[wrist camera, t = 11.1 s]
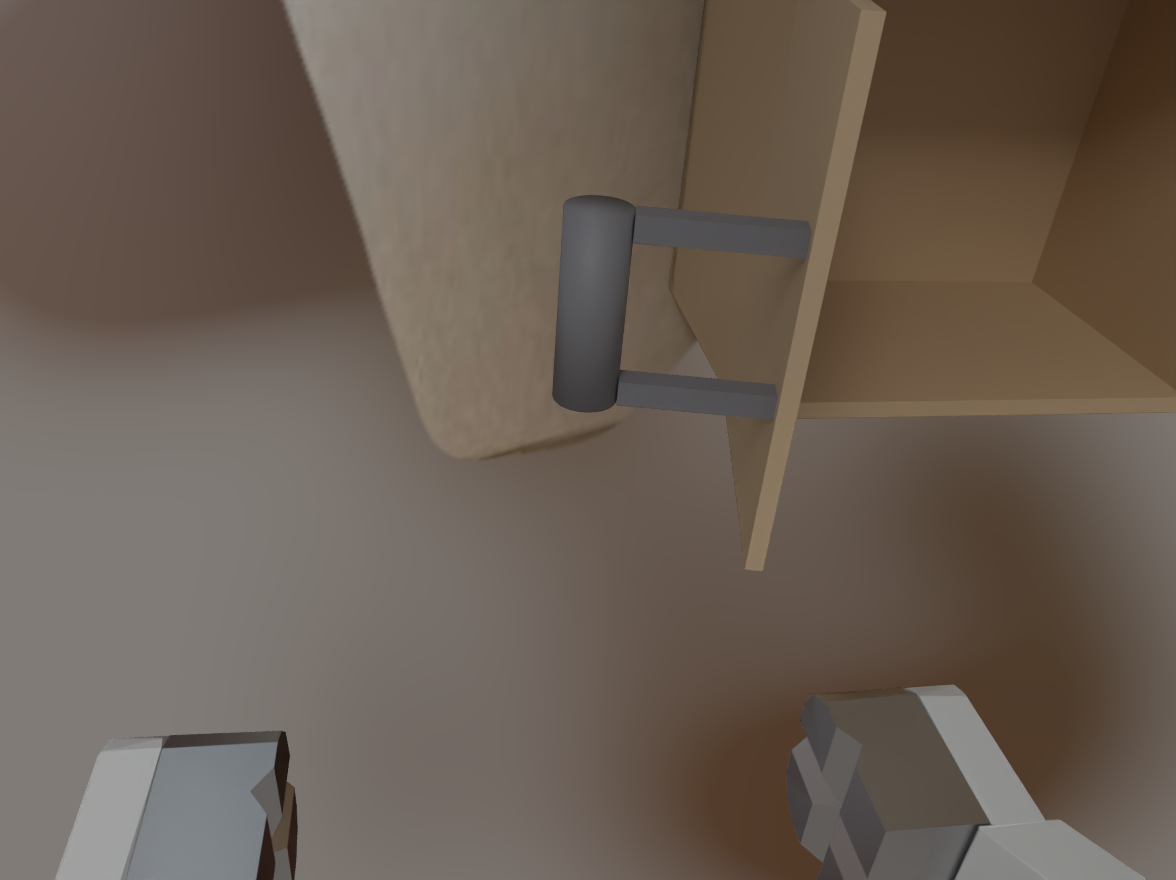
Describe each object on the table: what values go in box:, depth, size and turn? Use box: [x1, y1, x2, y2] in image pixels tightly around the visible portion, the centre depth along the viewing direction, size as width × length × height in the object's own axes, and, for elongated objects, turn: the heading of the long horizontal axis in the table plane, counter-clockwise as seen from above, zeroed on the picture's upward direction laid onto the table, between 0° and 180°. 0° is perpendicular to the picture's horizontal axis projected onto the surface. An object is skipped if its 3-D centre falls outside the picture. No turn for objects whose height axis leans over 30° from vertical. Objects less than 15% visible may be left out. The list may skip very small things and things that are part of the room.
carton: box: [669, 0, 1176, 419], centre depth 44 cm, size 18×22×14 cm
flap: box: [552, 0, 886, 571], centre depth 31 cm, size 17×10×7 cm
